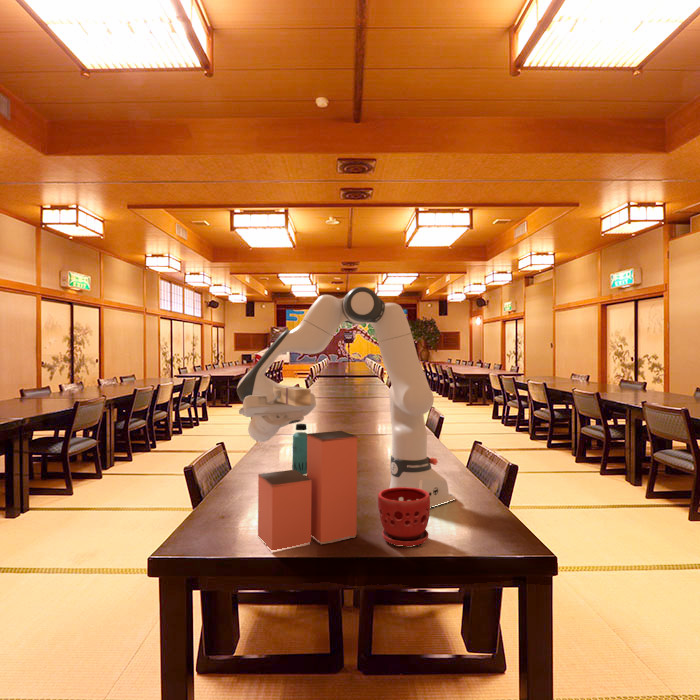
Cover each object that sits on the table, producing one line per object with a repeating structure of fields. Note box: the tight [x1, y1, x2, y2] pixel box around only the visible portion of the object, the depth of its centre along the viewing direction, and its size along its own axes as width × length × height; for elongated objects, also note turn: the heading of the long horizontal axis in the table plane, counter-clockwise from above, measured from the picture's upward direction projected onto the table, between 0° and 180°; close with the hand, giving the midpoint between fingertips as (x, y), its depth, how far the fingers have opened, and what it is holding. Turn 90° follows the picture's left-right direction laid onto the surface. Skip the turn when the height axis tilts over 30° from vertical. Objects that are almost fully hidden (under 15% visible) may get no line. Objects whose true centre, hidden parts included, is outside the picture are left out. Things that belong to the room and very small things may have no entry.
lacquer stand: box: [257, 430, 358, 550], centre depth 117 cm, size 22×12×26 cm, turn 118°
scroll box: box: [273, 384, 312, 406], centre depth 120 cm, size 4×17×4 cm, turn 28°
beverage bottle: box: [291, 423, 308, 476], centre depth 174 cm, size 6×7×20 cm
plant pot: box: [377, 487, 431, 546], centre depth 116 cm, size 13×13×12 cm
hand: (288, 392), depth 121 cm, fingers closed on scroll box, 4 cm apart
